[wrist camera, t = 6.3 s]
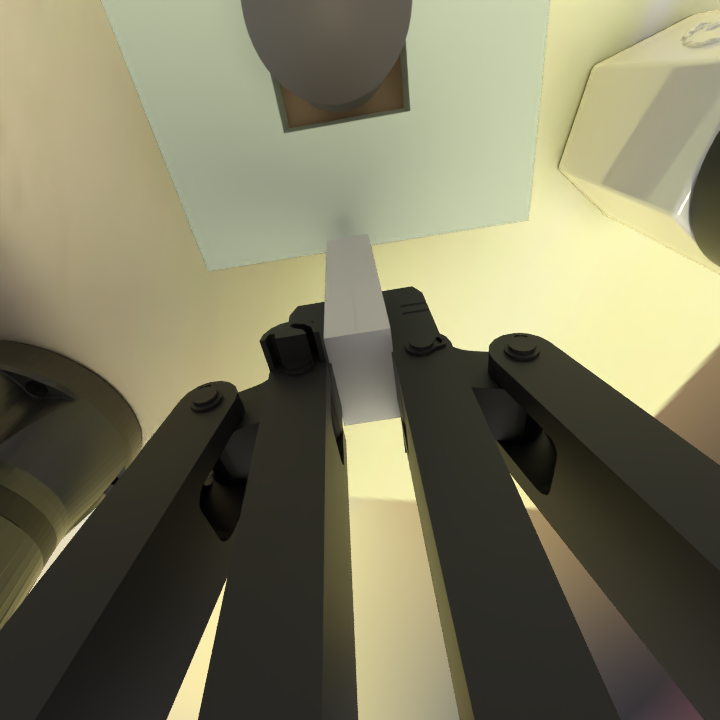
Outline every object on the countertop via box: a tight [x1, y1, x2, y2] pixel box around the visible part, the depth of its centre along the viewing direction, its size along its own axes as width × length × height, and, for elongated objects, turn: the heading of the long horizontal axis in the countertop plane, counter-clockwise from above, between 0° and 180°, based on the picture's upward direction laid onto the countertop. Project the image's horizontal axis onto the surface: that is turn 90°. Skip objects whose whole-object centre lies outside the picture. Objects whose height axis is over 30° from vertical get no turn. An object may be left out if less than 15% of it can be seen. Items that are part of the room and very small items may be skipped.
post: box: [241, 0, 412, 128], centre depth 13 cm, size 16×16×14 cm
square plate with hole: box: [101, 0, 550, 271], centre depth 15 cm, size 15×15×2 cm
